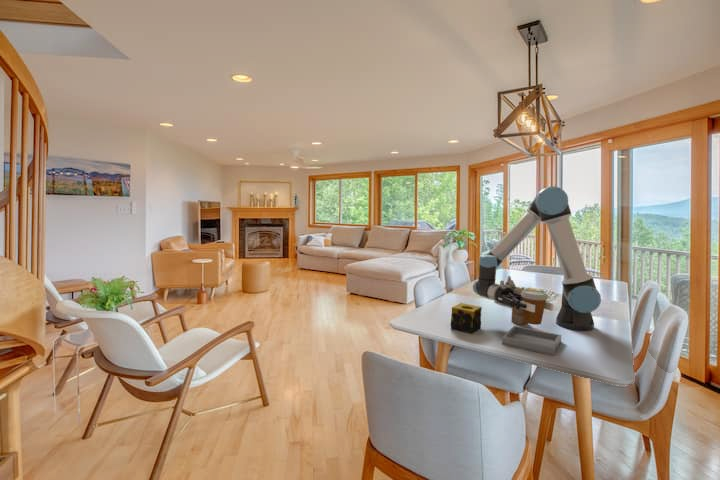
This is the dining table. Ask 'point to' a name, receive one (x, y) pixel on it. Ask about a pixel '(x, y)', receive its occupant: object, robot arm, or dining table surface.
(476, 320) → the tissue box
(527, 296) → the disposable coffee cup
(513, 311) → the walnut block
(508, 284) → the grey jagged rock
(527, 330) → the slate tray
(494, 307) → the dining table surface
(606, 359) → the dining table surface
